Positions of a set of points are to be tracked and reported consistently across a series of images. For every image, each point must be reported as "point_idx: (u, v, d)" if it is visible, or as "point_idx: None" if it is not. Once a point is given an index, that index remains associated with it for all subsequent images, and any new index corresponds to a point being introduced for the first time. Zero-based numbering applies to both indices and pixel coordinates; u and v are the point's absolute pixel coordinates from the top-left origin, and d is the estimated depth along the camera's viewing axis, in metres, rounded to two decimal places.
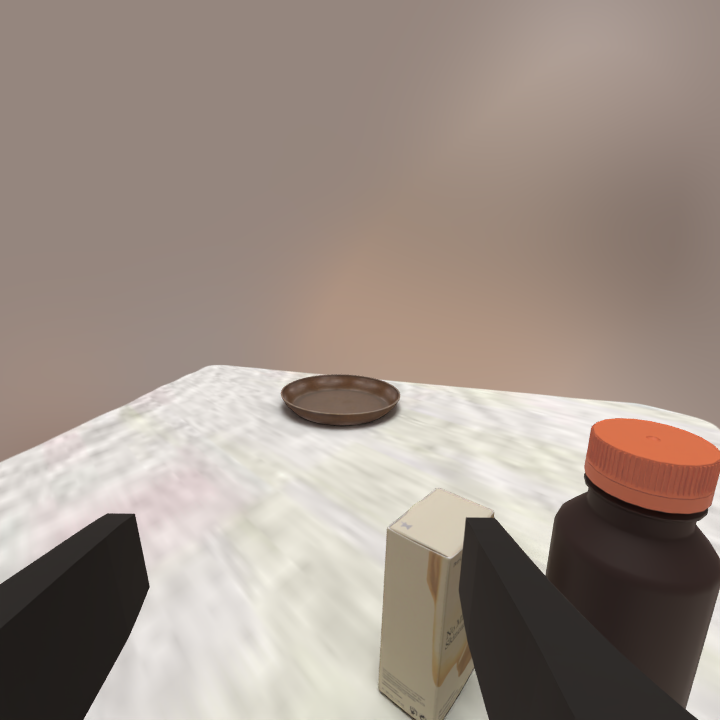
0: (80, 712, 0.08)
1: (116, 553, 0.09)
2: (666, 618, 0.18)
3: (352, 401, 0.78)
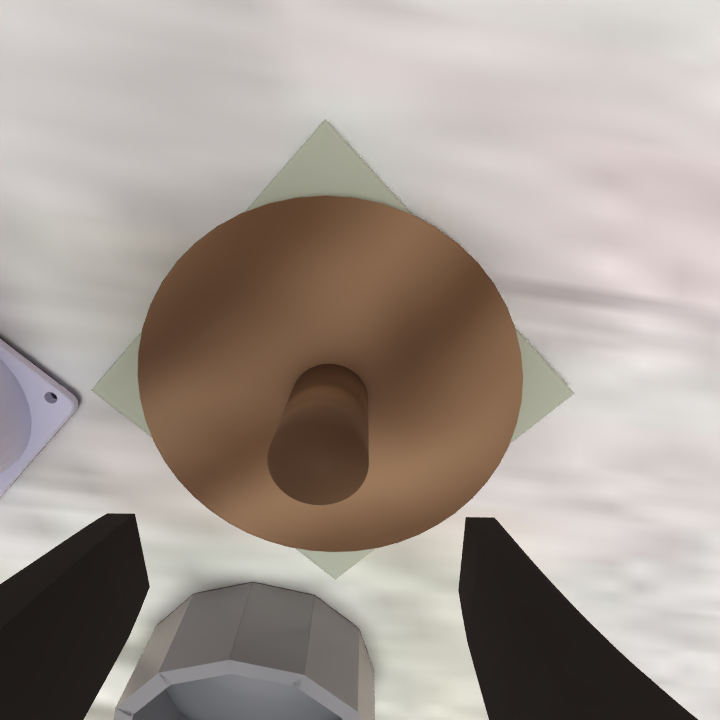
0: (80, 712, 0.08)
1: (116, 553, 0.09)
2: None
3: None
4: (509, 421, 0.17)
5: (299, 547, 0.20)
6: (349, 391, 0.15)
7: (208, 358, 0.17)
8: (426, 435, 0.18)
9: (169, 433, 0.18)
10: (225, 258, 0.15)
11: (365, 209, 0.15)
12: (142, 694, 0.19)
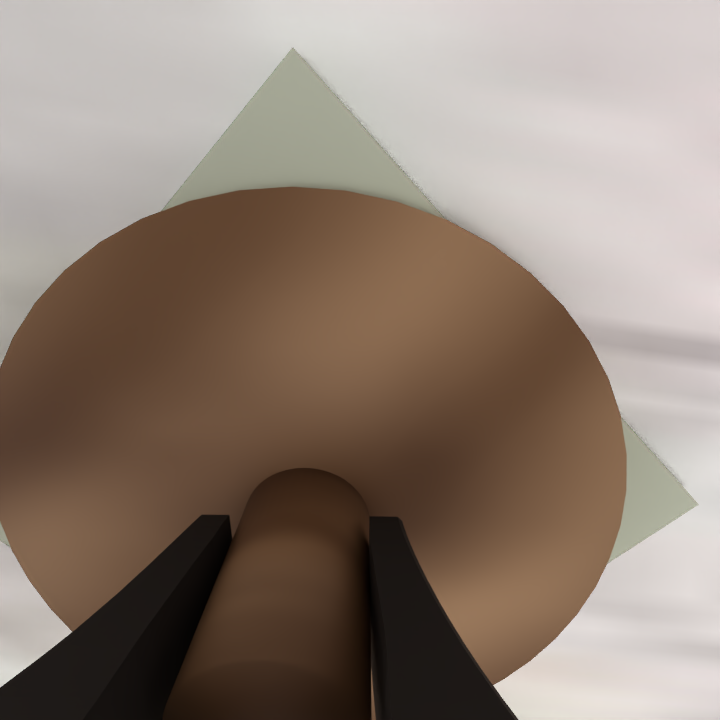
0: None
1: (217, 554, 0.09)
2: None
3: None
4: (598, 554, 0.11)
5: None
6: (335, 542, 0.08)
7: (104, 458, 0.10)
8: (463, 573, 0.11)
9: (52, 568, 0.11)
10: (119, 297, 0.09)
11: (365, 212, 0.08)
12: None
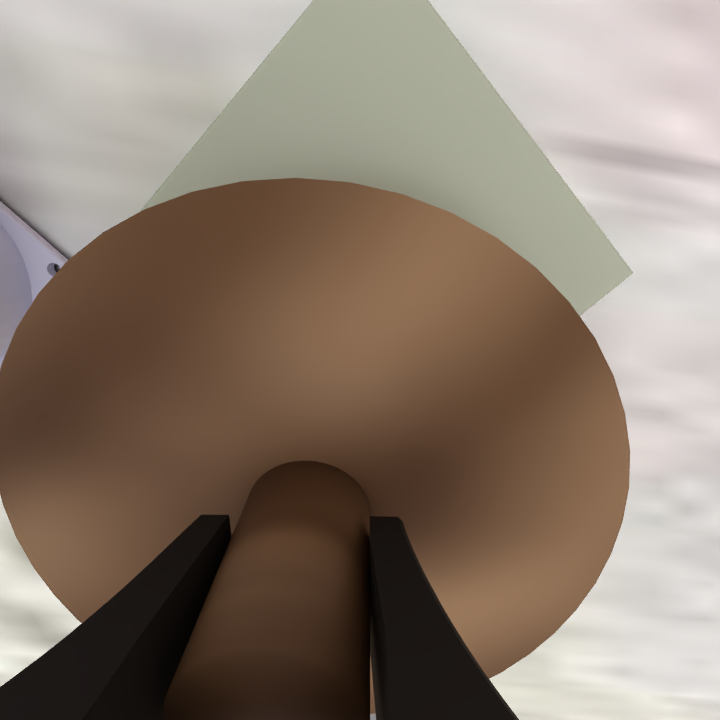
0: None
1: (217, 554, 0.09)
2: None
3: None
4: (599, 550, 0.11)
5: None
6: (336, 535, 0.08)
7: (107, 449, 0.10)
8: (463, 567, 0.11)
9: (55, 556, 0.11)
10: (122, 288, 0.09)
11: (370, 204, 0.08)
12: None
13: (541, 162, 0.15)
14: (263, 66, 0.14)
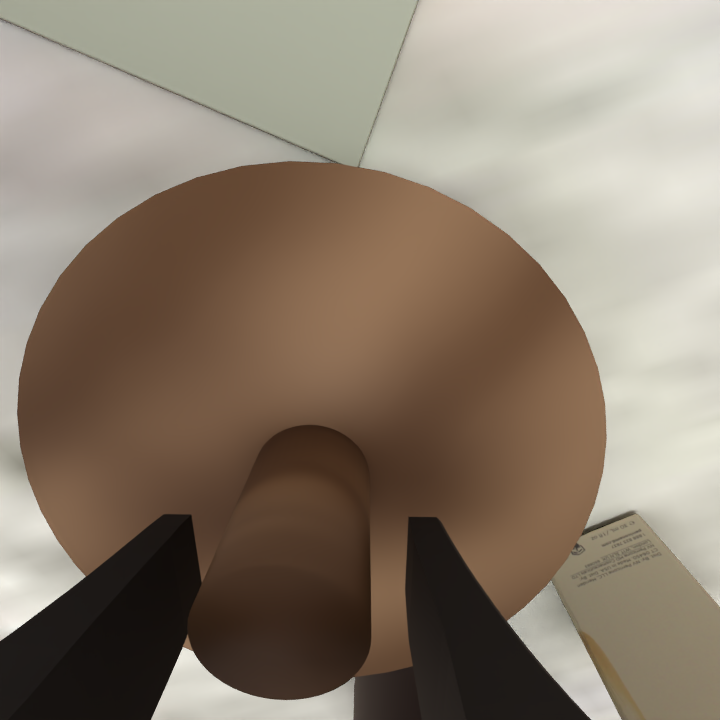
0: (148, 713, 0.08)
1: (176, 554, 0.09)
2: None
3: None
4: (583, 501, 0.12)
5: None
6: (337, 482, 0.09)
7: (124, 421, 0.11)
8: (457, 523, 0.12)
9: (77, 527, 0.12)
10: (135, 268, 0.10)
11: (356, 182, 0.09)
12: None
13: None
14: None
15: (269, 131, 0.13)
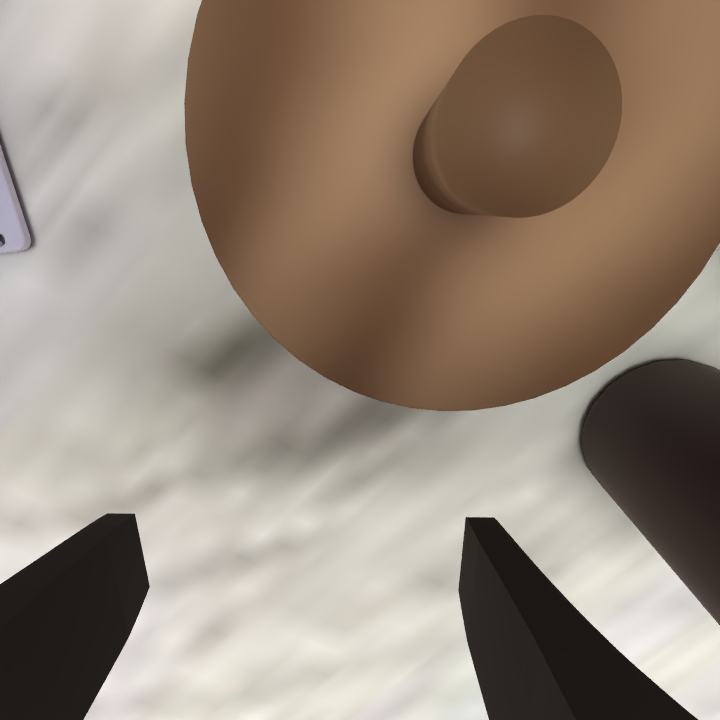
0: (80, 712, 0.08)
1: (116, 553, 0.09)
2: None
3: None
4: None
5: (516, 400, 0.14)
6: None
7: (287, 182, 0.12)
8: (631, 134, 0.11)
9: (287, 318, 0.13)
10: (243, 13, 0.11)
11: None
12: None
13: None
14: None
15: None
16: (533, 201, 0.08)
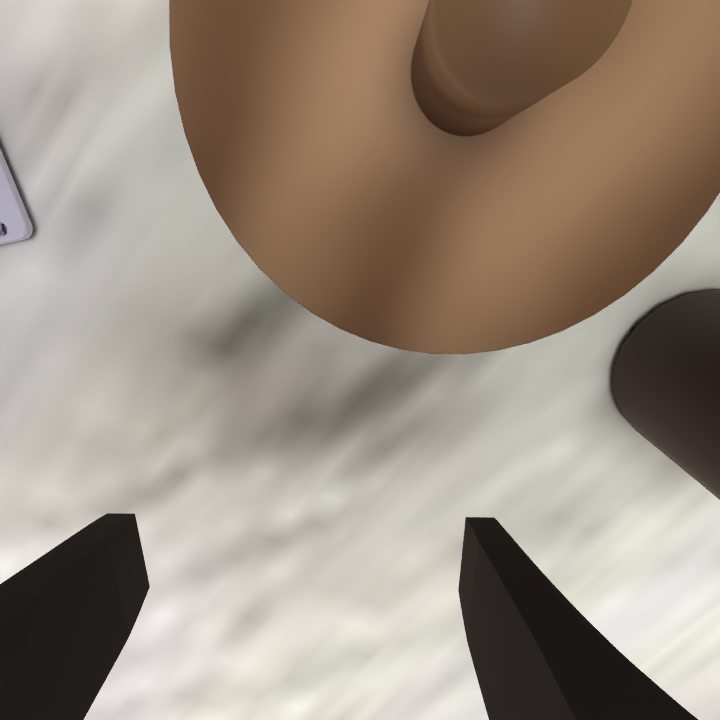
0: (80, 712, 0.08)
1: (116, 553, 0.09)
2: None
3: None
4: None
5: (543, 335, 0.13)
6: None
7: (283, 121, 0.11)
8: (643, 28, 0.11)
9: (296, 268, 0.13)
10: None
11: None
12: None
13: None
14: None
15: None
16: (548, 72, 0.07)
